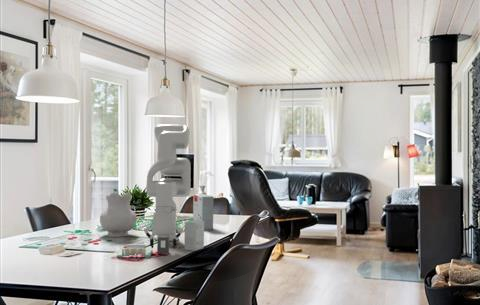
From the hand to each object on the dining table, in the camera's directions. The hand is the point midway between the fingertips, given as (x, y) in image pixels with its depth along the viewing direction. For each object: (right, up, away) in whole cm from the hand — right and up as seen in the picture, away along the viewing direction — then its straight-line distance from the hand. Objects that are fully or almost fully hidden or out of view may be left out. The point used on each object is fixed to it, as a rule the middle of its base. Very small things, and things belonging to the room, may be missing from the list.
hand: (163, 247), depth 231 cm
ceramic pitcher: (-32, -2, +47) cm, 57 cm away
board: (-12, -2, -5) cm, 13 cm away
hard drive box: (+12, -3, +78) cm, 79 cm away
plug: (0, -2, 0) cm, 2 cm away
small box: (+13, -3, +11) cm, 17 cm away
